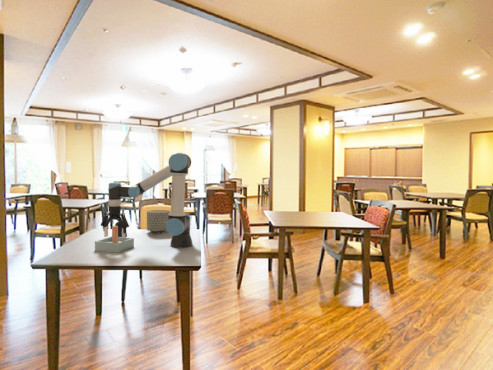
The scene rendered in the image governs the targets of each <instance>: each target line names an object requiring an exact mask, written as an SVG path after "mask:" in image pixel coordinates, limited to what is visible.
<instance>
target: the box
mask: <svg viewBox="0 0 493 370" xmlns="http://www.w3.org/2000/svg"><path fill="white" fill-rule="evenodd" d="M134 241H135V238H134V237H125V238H122V237H118V243H113V242H112V235H111V236H107V237H104V238H102V239H98V240H95V241H94V251H97V252H106V253H107V252H108V253H116V254H117V253H118V254H119V253H122V252H124V251H127V250H129V249H133V248H135V242H134Z"/></svg>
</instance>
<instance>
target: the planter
mask: <svg viewBox="0 0 493 370" xmlns="http://www.w3.org/2000/svg"><path fill="white" fill-rule="evenodd" d="M170 212H171V210H167V209H152V210H147V211H146V230H147V231H148V232H151V233H153V234H163V233H165V232H167V230H166V223H167V221H168V214H169V213H170Z"/></svg>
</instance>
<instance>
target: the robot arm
mask: <svg viewBox="0 0 493 370" xmlns="http://www.w3.org/2000/svg"><path fill="white" fill-rule="evenodd" d="M191 166H192V159H191V157H190V155H188V154H186V153H183V152H175V153H173V154H171V155H170V156H169V158H168V165H167V166H165V167H163V168H161V169H160V170H158V171H156V172H155V173H153V174H152V175H150V176H148V177H147V178H145V179H143V180H141V181H139V182H138V183H136V184H133V185H122V184H121V182H109V183H108V211H106V212H104V216H103V219H102V221H101V223H100V226H101V227H102V228H103V232H104V233H103V235H104V238H108V237H109V226H108V225H109V224H110V223H111V221H112V220H116V221H117V222H119V223H120V224H121V226H122V227H123V228H122V238H125V233H126V232H127V228H129V227H130V225H129V222H128V220H127V218H126V213H121V212H122V206H121V203H122V200H121V199H122V198H138V197H139V196H141V195H143V194H144V193H145V192H147V191H149V190H151V189H152V188H153V187H156V186H157V185H158V184H160V183H162V182H164V181H166V180H167V179H169V178H171V192H170V193H171V196H170V198H171V199H170V213H169V214H168V221H167V223H166V230H167V231H166V232H167V233H168V234H169V235H171V236H172V237H171V240H170V247H172V248H178V247H182V248H188V246H189V247H191V245H192V246H193V240H192V237H191V214H190V213H188V212H186V213H185V197H186V195H185V194H186V176H187V175H188V174H189V169H190V167H191Z"/></svg>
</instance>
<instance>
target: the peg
mask: <svg viewBox="0 0 493 370" xmlns="http://www.w3.org/2000/svg"><path fill="white" fill-rule="evenodd" d="M111 236H112V242H113V243H118V226H115V225H113V226H111Z"/></svg>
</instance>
